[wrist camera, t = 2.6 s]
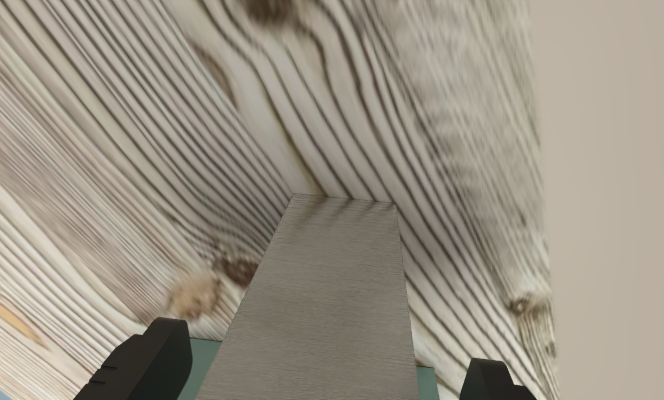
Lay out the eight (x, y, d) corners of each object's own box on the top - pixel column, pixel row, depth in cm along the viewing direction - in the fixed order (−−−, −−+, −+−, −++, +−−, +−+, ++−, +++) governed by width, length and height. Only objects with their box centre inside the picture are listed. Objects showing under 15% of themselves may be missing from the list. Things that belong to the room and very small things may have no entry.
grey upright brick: (293, 193, 14) (183, 422, 6) (395, 203, 14) (426, 457, 6) (293, 274, 16) (208, 535, 8) (383, 284, 15) (394, 566, 7)
